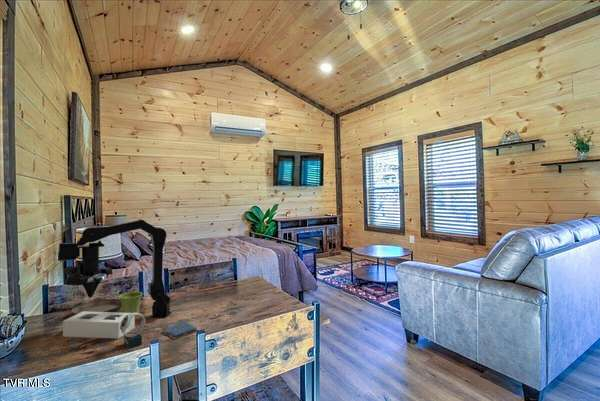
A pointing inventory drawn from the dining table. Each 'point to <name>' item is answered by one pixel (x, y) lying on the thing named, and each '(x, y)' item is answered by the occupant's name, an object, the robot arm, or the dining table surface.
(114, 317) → the peg
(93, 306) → the plant saucer
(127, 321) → the watch
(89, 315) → the peg
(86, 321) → the sleeve block
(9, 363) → the dining table surface
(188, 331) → the woven mat
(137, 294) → the plant pot
